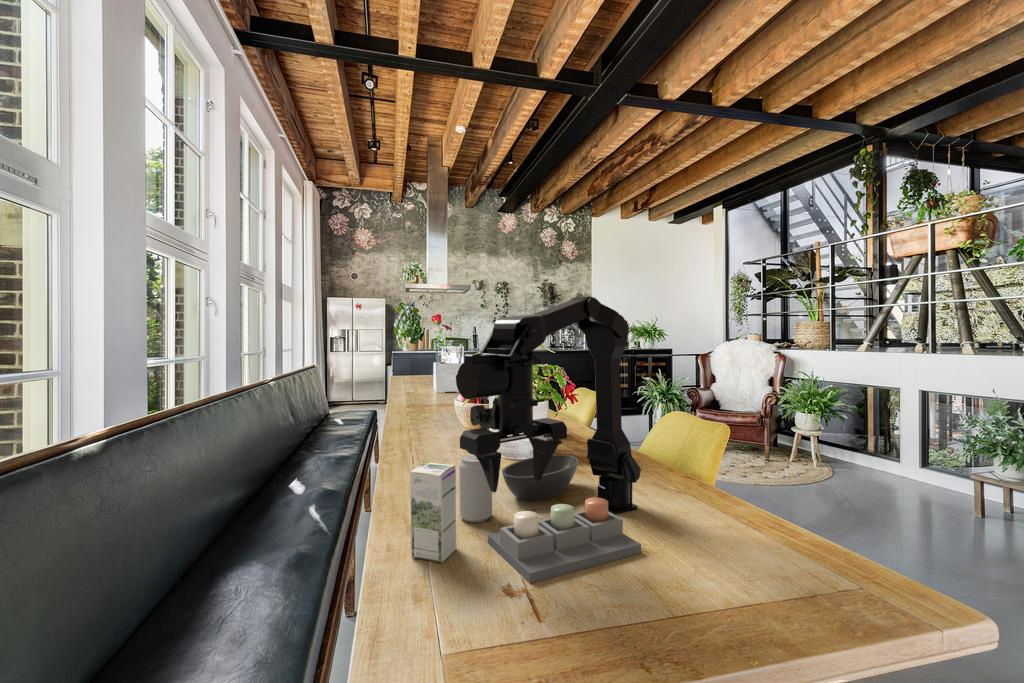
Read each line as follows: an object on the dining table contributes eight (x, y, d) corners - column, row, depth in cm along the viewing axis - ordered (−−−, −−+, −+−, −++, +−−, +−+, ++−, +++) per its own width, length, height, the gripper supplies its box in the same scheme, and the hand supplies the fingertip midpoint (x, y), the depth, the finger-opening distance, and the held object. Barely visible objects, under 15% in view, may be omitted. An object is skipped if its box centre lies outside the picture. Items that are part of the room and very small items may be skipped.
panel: (587, 521, 95) (587, 499, 95) (641, 553, 82) (641, 527, 82) (488, 543, 86) (487, 519, 85) (529, 583, 72) (529, 555, 72)
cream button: (531, 528, 83) (531, 509, 83) (543, 537, 79) (543, 517, 79) (509, 532, 81) (509, 513, 81) (521, 542, 78) (521, 522, 78)
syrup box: (457, 548, 84) (457, 463, 83) (441, 564, 78) (440, 473, 78) (427, 543, 85) (427, 460, 85) (409, 559, 80) (409, 470, 79)
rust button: (598, 513, 89) (598, 496, 89) (612, 521, 86) (612, 503, 86) (580, 517, 88) (580, 499, 87) (593, 525, 84) (594, 507, 84)
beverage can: (487, 525, 93) (487, 462, 93) (455, 522, 94) (454, 460, 94) (495, 512, 99) (495, 453, 99) (464, 510, 101) (464, 452, 100)
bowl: (592, 486, 115) (592, 460, 115) (528, 512, 100) (528, 482, 99) (552, 475, 124) (552, 451, 124) (487, 498, 108) (487, 470, 108)
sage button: (566, 520, 86) (566, 502, 86) (579, 529, 83) (579, 510, 82) (546, 524, 84) (546, 506, 84) (559, 533, 81) (559, 514, 81)
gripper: (528, 384, 94) (528, 465, 94) (442, 392, 83) (442, 484, 83) (569, 390, 85) (569, 479, 86) (479, 400, 74) (479, 503, 74)
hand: (515, 486), depth 82 cm, fingers open, 9 cm apart
